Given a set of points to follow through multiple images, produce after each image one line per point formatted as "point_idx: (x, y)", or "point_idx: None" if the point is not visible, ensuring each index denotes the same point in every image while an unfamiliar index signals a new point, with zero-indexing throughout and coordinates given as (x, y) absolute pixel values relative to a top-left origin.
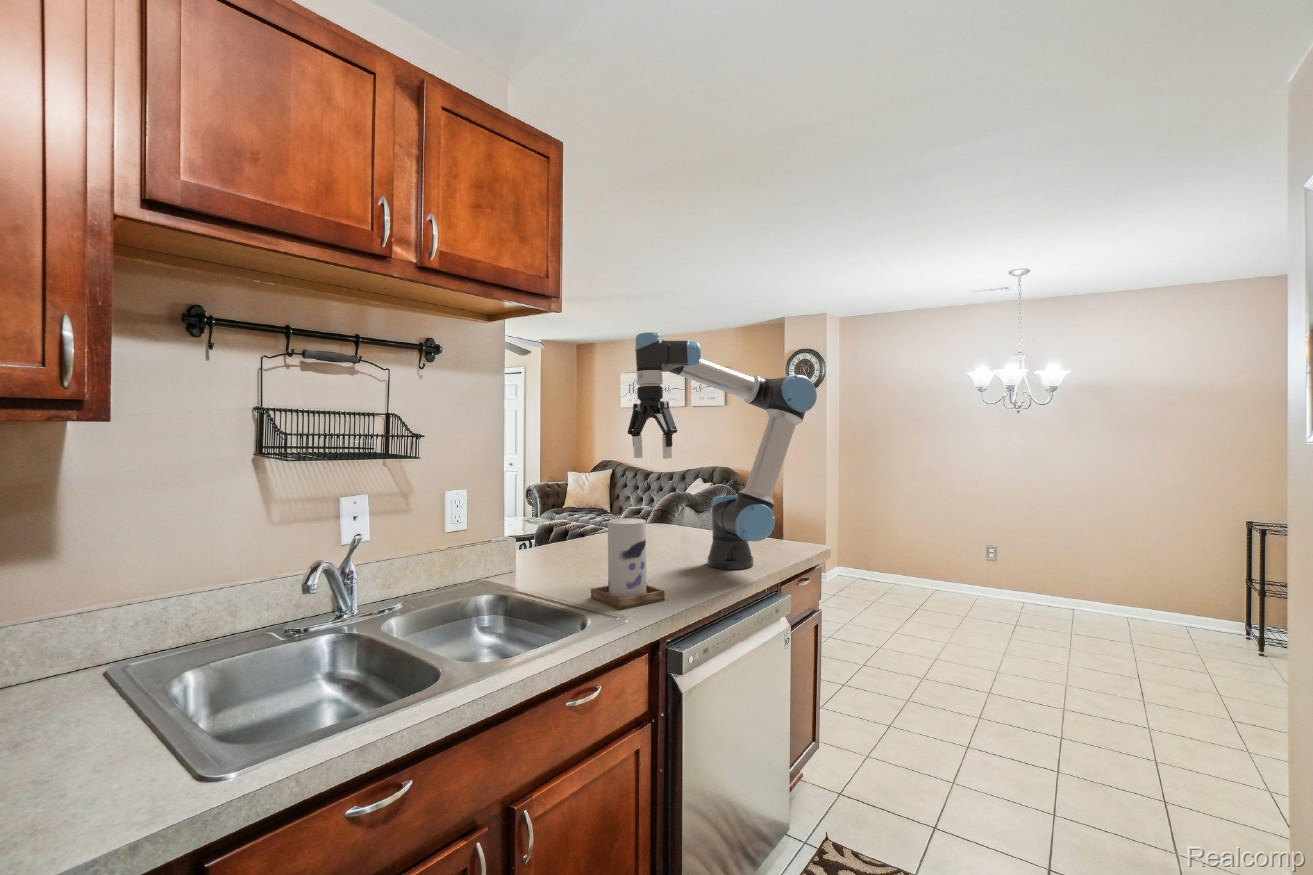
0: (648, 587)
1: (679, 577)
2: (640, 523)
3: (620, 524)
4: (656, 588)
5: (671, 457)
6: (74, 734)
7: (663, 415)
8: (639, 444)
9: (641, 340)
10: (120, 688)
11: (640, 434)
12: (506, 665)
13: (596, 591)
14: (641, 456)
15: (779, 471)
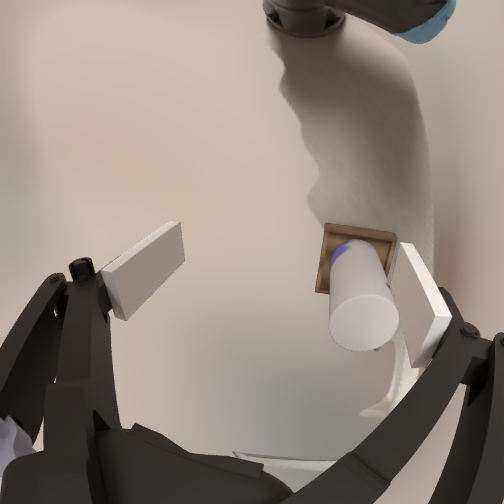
0: (365, 236)
1: (317, 120)
2: (398, 322)
3: (376, 347)
4: (381, 236)
5: (412, 247)
6: (307, 466)
7: (445, 493)
8: (146, 266)
9: None
10: (270, 458)
11: (85, 266)
12: (389, 399)
13: (328, 293)
14: (178, 230)
15: None
